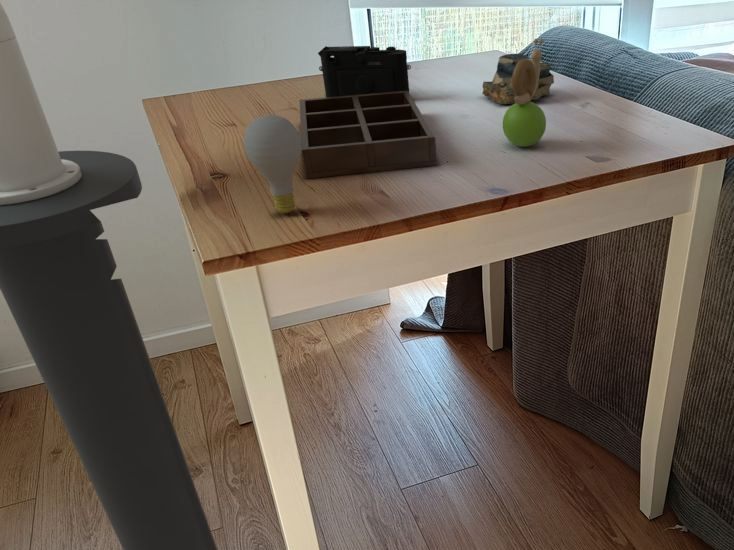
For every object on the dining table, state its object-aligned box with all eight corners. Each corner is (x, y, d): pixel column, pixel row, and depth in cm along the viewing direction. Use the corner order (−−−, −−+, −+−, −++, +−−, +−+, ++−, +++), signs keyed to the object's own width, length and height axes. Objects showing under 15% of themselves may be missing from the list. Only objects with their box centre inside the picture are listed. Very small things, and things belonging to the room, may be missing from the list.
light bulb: (297, 198, 75) (280, 104, 69) (322, 213, 71) (306, 115, 66) (250, 212, 72) (229, 115, 67) (274, 228, 69) (253, 127, 63)
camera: (417, 91, 112) (413, 37, 107) (411, 102, 106) (407, 47, 102) (331, 92, 113) (323, 39, 109) (320, 104, 107) (312, 49, 103)
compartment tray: (306, 178, 80) (301, 149, 78) (303, 124, 98) (299, 99, 97) (436, 165, 82) (435, 137, 81) (409, 114, 101) (407, 90, 99)
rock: (478, 98, 107) (477, 59, 104) (525, 88, 111) (525, 50, 108) (512, 110, 101) (512, 69, 98) (560, 98, 105) (562, 59, 102)
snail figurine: (555, 140, 89) (559, 40, 82) (533, 155, 84) (536, 50, 78) (518, 134, 91) (519, 36, 85) (494, 148, 87) (494, 46, 80)
